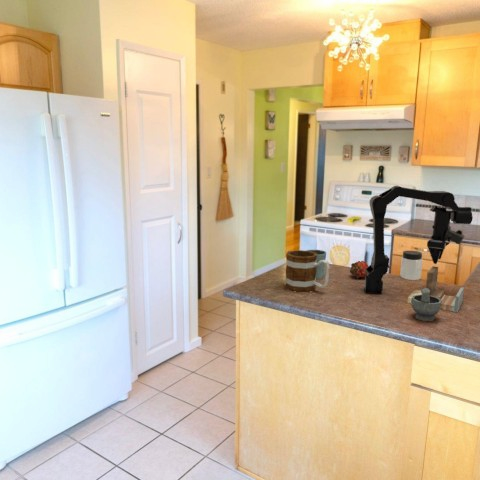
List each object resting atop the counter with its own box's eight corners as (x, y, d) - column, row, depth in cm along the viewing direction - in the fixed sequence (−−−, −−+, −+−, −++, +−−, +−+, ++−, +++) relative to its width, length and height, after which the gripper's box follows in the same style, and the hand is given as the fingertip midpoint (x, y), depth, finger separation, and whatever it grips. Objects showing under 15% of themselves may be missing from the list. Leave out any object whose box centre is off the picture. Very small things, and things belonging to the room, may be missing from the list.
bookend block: (424, 300, 164) (427, 272, 161) (430, 293, 172) (432, 266, 169) (439, 302, 161) (441, 274, 159) (443, 295, 169) (446, 268, 167)
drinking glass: (328, 276, 202) (329, 251, 199) (320, 281, 193) (321, 255, 191) (308, 272, 207) (309, 248, 205) (299, 278, 199) (300, 252, 196)
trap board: (407, 302, 166) (407, 297, 166) (414, 294, 176) (415, 289, 176) (454, 311, 157) (454, 306, 157) (459, 302, 167) (459, 297, 167)
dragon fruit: (353, 283, 196) (361, 281, 206) (369, 275, 192) (377, 272, 202) (344, 267, 198) (352, 265, 208) (359, 258, 194) (367, 256, 204)
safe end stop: (454, 311, 157) (455, 296, 156) (459, 302, 167) (461, 287, 166) (457, 312, 156) (458, 296, 155) (462, 302, 167) (464, 287, 166)
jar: (412, 281, 194) (414, 255, 192) (396, 277, 201) (398, 251, 198) (424, 278, 199) (426, 252, 197) (408, 274, 206) (410, 249, 203)
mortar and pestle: (413, 310, 158) (415, 279, 155) (441, 315, 153) (444, 283, 151) (407, 321, 148) (410, 287, 146) (437, 326, 144) (440, 292, 141)
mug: (278, 288, 183) (279, 254, 180) (295, 281, 193) (296, 248, 190) (320, 298, 171) (321, 261, 168) (335, 290, 181) (337, 255, 178)
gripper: (461, 228, 159) (456, 269, 162) (467, 222, 174) (462, 259, 178) (429, 225, 165) (424, 264, 168) (437, 219, 180) (432, 255, 183)
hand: (437, 261), depth 174 cm, fingers open, 9 cm apart
